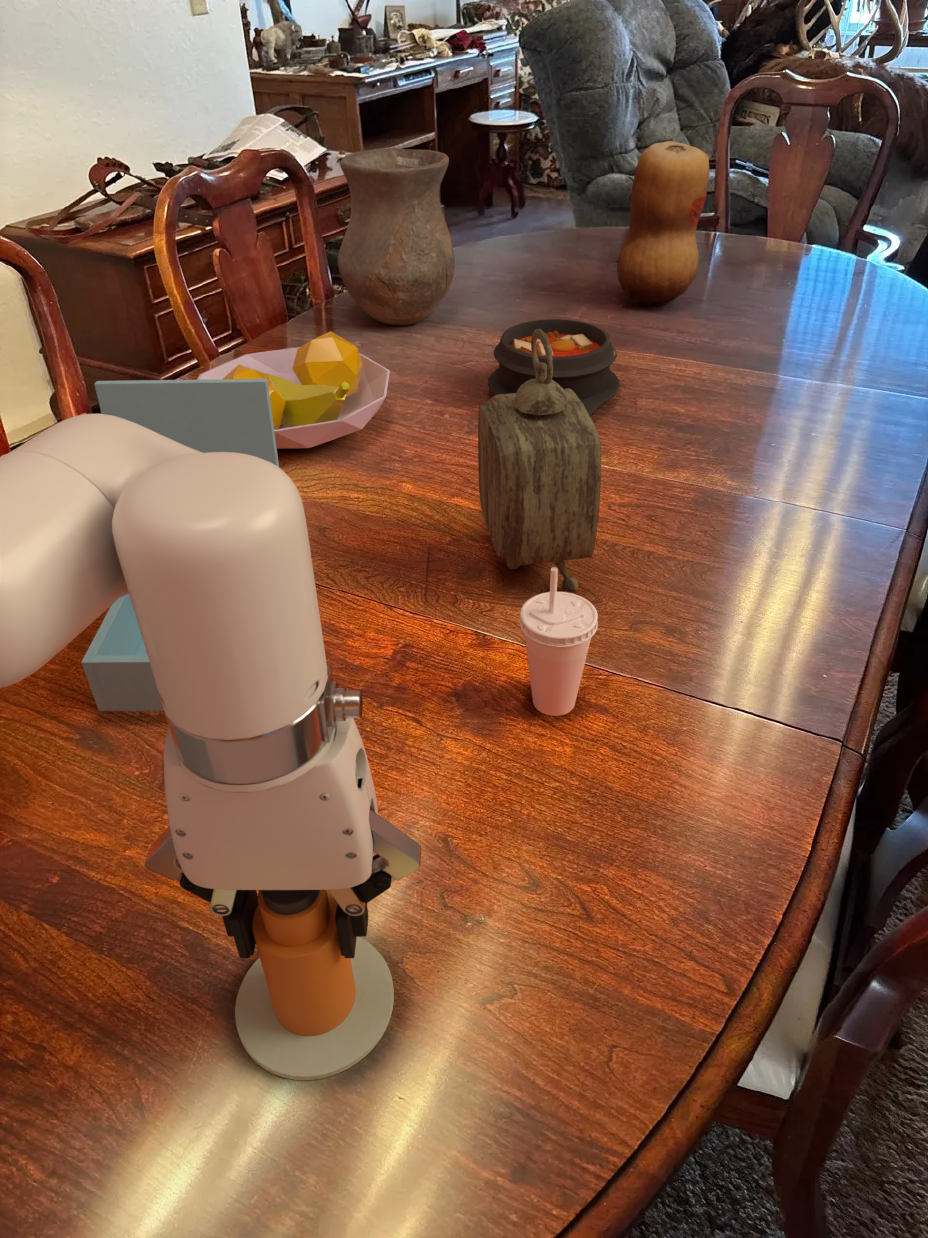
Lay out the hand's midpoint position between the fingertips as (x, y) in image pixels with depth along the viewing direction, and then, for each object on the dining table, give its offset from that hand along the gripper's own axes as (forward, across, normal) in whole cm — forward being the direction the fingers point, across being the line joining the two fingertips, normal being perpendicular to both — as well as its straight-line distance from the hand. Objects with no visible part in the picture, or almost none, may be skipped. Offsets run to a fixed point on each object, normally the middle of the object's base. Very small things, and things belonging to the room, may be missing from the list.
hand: (300, 934), depth 54 cm
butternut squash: (+8, -41, -130) cm, 137 cm away
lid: (-8, +15, -42) cm, 46 cm away
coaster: (+7, 0, 0) cm, 7 cm away
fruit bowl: (+8, +14, -82) cm, 84 cm away
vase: (+8, +3, -124) cm, 124 cm away
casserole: (+8, -21, -92) cm, 95 cm away
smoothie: (+8, -17, -28) cm, 34 cm away
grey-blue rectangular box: (+7, +15, -34) cm, 38 cm away
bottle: (+7, 0, 0) cm, 7 cm away
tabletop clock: (+8, -16, -49) cm, 52 cm away
